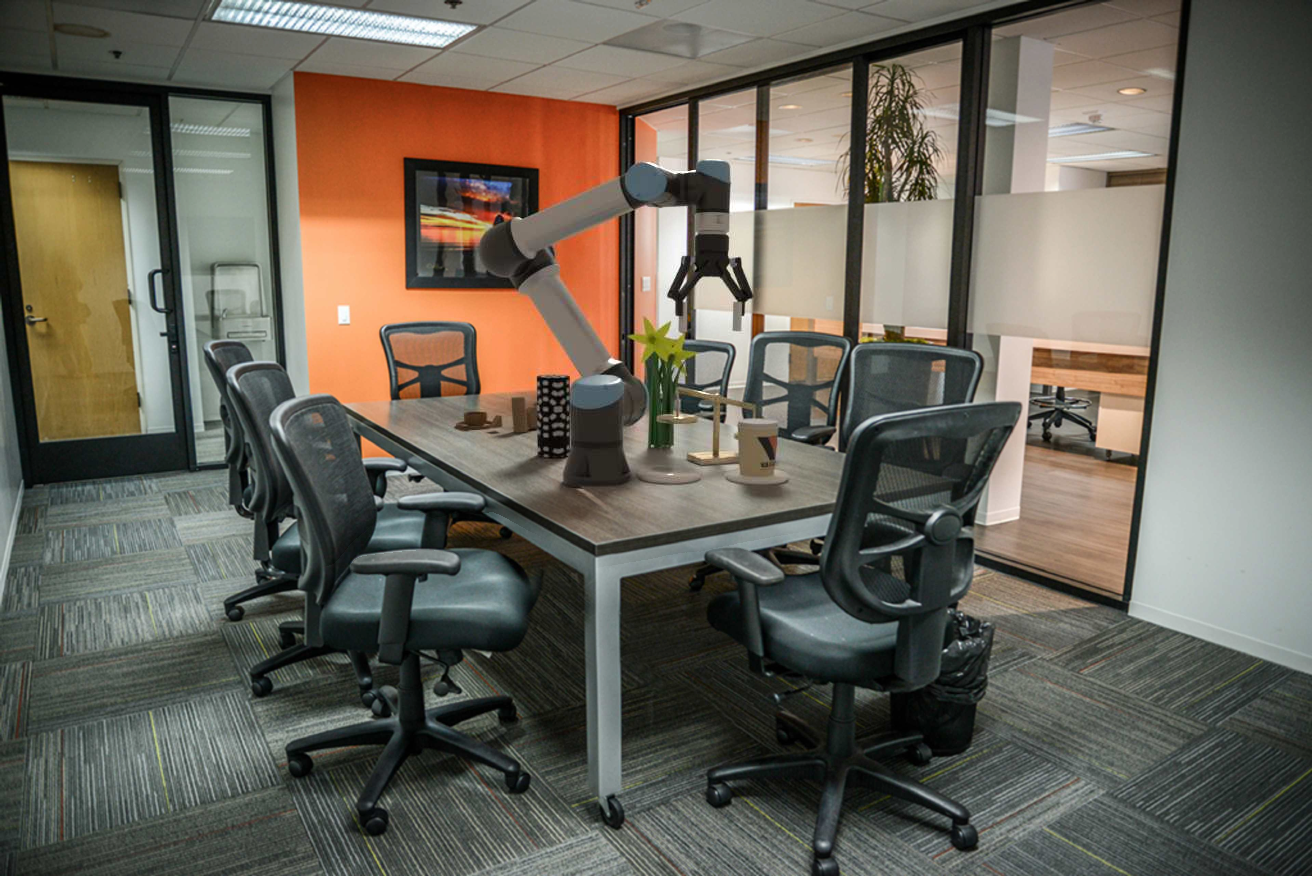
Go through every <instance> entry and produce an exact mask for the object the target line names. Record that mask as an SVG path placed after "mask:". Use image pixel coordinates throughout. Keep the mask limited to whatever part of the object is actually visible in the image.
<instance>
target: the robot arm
mask: <svg viewBox="0 0 1312 876" xmlns="http://www.w3.org/2000/svg"><path fill="white" fill-rule="evenodd" d="M695 166H696V167H695V169H694V170H689V171H685V170H684V171H681V170H680V171H672V170H669V169H667V168H665V167H662V166H660V165H658V164H657V163H654V162H650V161H649V162H646V161H638V162H635V163H634V164H633V165H631V166H630V167H629V169H628V170H627V172H626V173H624V174H622V175H619V176H617V177H615V178H613V179H610V180H608V181H606V182H604V183H602V184H599V185H595V186H594V187H592V188H590V189H587V190H586V191H582V192H580V193H578V194H577V195H574V196H572V197H569V198H568V199H565V200H562V201H560V202H559V203H555V204H553V205H551V206H549V207H547V208H545V209H543V210H539V211H538V212H536V213H533V214H531V215H529V216H526V217H524V218H521V217H518V216H515V217H512V218H510V219H508V220H505V221H503V222H501V223H499V224H496V225H494V226H491V227H490V228H489V229H487V230H486V231H485V232H484V233H483V234H482V237H481V239H480V241H479V243H478V248H477V249H478V258H479V261H480V262H481V264H482V266H483V267H484V268H485V269H486V271H488V272H489V273H490V274H492V275H494V276H495V277H496V276H497V277H500V278H507V279H509V280H510V281H511V283H512V285H513V286H514V287H515V289H516V291H517V292H518V293H519V295H523V296H527V297H529V299H530V300H531V301H532V304H533V305H534V307H535V308H536V310H537V312H539V314H540V316H541V317H542V319H543V321H545V324H546V325H547V326H548V328H549V330H550V331H551V333H552V334H553V336H554V337H555V339H556V340H557V342H558V344H560V346H561V347H562V350H563V351H564V353H565V354H566V355H567V357H568V359H569V360H570V362H571V363H572V365H573V366H574V368H575V369H576V371H577V373H578V374H579V375H580V377H578V378H577V379H575V380H573V382H571V384H570V396H569V397H570V452H569V455H568V456H567V459H566V462H565V464H564V469H563V472H562V484H564V485H565V486H568V487H571V488H575V489H584V488H583V487H611V486H620V485H624V484H627V483H628V482H631V480H632V478H631V476H632V473H631V472H632V471H631V469H630V466H629V463H628V459H627V457H626V453H625V450H624V428H627V427H631V426H633V425H635V424H636V423H637V422H639V421H640V420H642V419H643V418H644V416H645V415H646V414H647V412H648V410H649V402H650V397H649V392H648V386H646V383H644V382H643V380H642V379H640V378H639V377H637V376H634V375H632V374H631V372H630V371H629V370H628V367H627V366H626V365H625V363H624V362H623V361H622V360H617V359H614V358H613V357H612V355H611V354H610V352H609V351H608V349H607V348H606V346H605V345H604V343H603V341H602V340H601V339H600V338H601V337H599V335H598V334H597V333H596V331H595V329H594V328H593V326H592V325H591V323H590V321H589V319H587V317H586V316H585V314H584V313H583V311H582V309H581V308H580V306H579V305H578V302H576V299H574V297H573V296H572V294H571V292H570V291H569V290H568V288H567V286H566V285H565V284H564V282H563V280H562V279H561V277H560V273H561V272H560V270H561V265H560V264H559V262H558V261H557V260H556V256H557V254H556V248H555V246H554V245H555V244H558V243H560V242H563V241H564V240H567V239H569V238H572V237H574V236H576V235H578V234H580V233H584V232H586V231H588V230H590V229H592V228H596V227H597V226H600V225H602V224H604V223H607V222H609V221H611V220H614V219H616V218H618V217H621V216H622V215H625V214H627V213H629V212H632V211H635V210H637V209H641V208H642V207H645V206H646V207H649V208H659V209H663V208H672V207H673V208H675V207H677V208H678V207H695V208H694V209H695V212H694V214H695V215H694V216H695V219H694V222H695V223H694V231H695V233H697V234H695V237H694V253H695V254H694V256H691V255H682V256H681V260H680V266H679V268H678V270H677V272H676V274H675V276H674V279H673V281H672V283H671V284H670V285H671V286H670V287H669V289H668V292H667V294H666V297H667V298H668V299H671V300H673V301H674V302H675V303H674V305H675V306H674V309H675V310H674V312H675V313H674V314H675V317H678V324H677V325H678V327H677V329H678V330H677V331H678V332H682V333H683V332H684V333H687V332H688V301H684V300H686V298H687V296H688V295H689V294H690V293H691V292H692V290H693V289H694V287H695V286H696V285H697V284H698V282H699V281H700V279H702V278H719V279H720V280H722V281H723V283H724V284H725V286H726V287H727V289H728V290H729V291H730V292H731V294H732V296H733V297H734V298H735V300H736V301H733V303H732V305H733V306H732V332H742V319H743V318H742V317H744V316H745V314H746V312H745V311H746V303H747V302H748V301H749V300H752V299H753V298H754V294H753V291H752V289H751V286H750V284H749V280H748V278H747V276H746V274H745V271H744V269H743V264H742V263H743V262H742V257H740V256H733V257H730V256H729V252H730V251H729V250H730V236H729V235H728V234H727V233H729V232H730V220H731V219H730V216H731V214H730V207H731V206H730V205H731V204H730V203H731V188H732V187H731V186H732V182H731V165H730V164H729V162H728V161H726V160H723V159H722V160H721V159H704V160H703V159H701V160H699V161H697V162H696V165H695ZM693 264H694V267H695V269H694V270H693V272H692V273H691V275H690V276H689V278H688V279H687V281H685V279H686V277H687V276H688V273H689V270H690V268H691V266H693ZM728 266H730V267H731V269H732V272H733V274H734V276H735V279H736V281H735V280H734V278H733V277H732V276H731V275H732V274H731V273H730V271H729V270H728ZM684 281H685V283H684ZM736 282H737V283H736ZM683 283H684V284H683ZM682 285H683V286H682Z"/></svg>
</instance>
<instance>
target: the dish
mask: <svg viewBox="0 0 1312 876" xmlns="http://www.w3.org/2000/svg"><path fill="white" fill-rule="evenodd" d="M725 479H726V480H728V481H730V482H733V483H738V484H744V485H752V486H753V485H756V486H758V485H759V486H765V485H767V486H768V485H779V484H783V483H786V482H788V480H789V473H787V472H785V471H783V470H779V469H774V474H773V475H772V476H768V477H750V476H744V475H741V474H740V469H739V467H737V468H732V469H728V470H726V471H725Z"/></svg>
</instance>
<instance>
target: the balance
mask: <svg viewBox="0 0 1312 876" xmlns="http://www.w3.org/2000/svg"><path fill="white" fill-rule="evenodd" d="M680 394H682V395H683V394H684V395H688V396H690V397H691V396H693V397H695V398H700V399H704V400H709V401H712V402H713V413H712V415H713V416H712V417H713V419H712V451H704V452H702V451H701V452H688V453H686V460H687V461H690V462H692V463H695V464H697V465H700V466H707V465H719V464H720V465H721V464H722V465H723V464H731V463H732V464H733V463H734V464H735V463H739V452H738V453H737V452H736V451H732V450H720V431H721V430H720V429H721V428H720V424H721V423H720V421H721V404H726V405H729V406H734V407H737V408H738V407H739V408H743V409H747V410H752V418H756V410H757V409H756V408H757V406H756V404H754V403H749V402H745V401H741V400H736V399H732V398H727V397H725V396H722V394H719V393H715V394H711V393H707V392H702V391H699V390H694V389H691V388H686V387H682V386H677V390H676V397H675V402H676V403H675V404H676V406H675V409H676V411H675V413H673V414H664V415H658V416H657V421H658V422H661V423H668V424H674V425H689V424H695V423H698V422H699V417H698V416H697V415H694V414H685V413H680V412H679V411H680ZM733 439H734V440H737V441H738V431H737V432H736V431H735V432H734V433H733Z"/></svg>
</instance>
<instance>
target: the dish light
mask: <svg viewBox="0 0 1312 876" xmlns="http://www.w3.org/2000/svg"><path fill="white" fill-rule="evenodd" d="M638 478H639V479H640V480H641V481H645V482H648V483H655V484H667V485H668V484H669V485H671V484H672V485H673V484H674V485H675V484H676V485H677V484H688V483H689V484H690V483H694V482H697V481H700V479H701V472H700V471H699V470H697V469H693V468H690V467H689V468H688V467H682V466H681V467H680V466H654V467H653V466H652V467H647V468H643V469H641V470H639V471H638Z"/></svg>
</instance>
